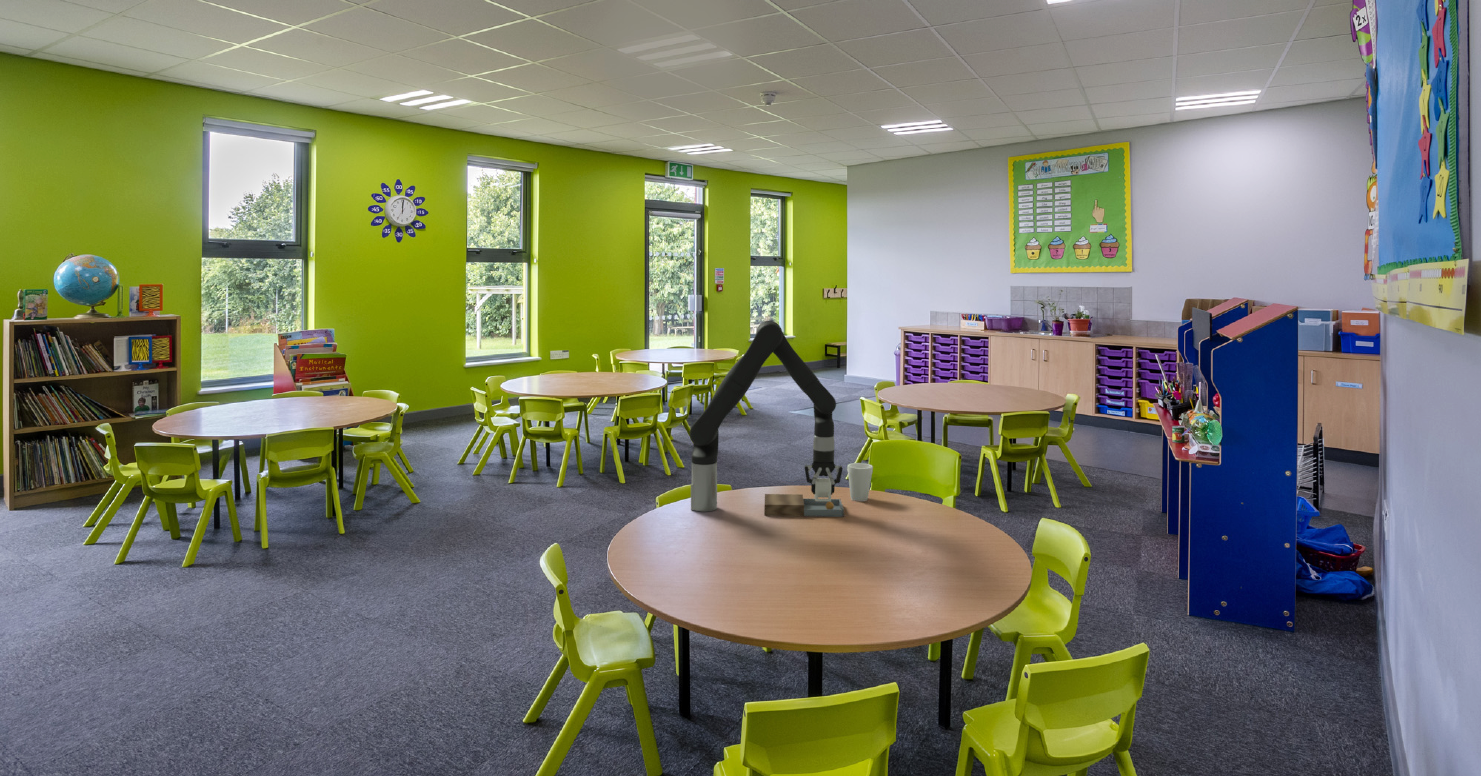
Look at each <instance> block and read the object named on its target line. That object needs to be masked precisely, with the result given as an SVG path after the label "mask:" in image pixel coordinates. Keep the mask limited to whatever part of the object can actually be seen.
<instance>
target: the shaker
mask: <svg viewBox="0 0 1481 776" xmlns="http://www.w3.org/2000/svg"><path fill="white" fill-rule="evenodd" d="M813 495H814V496H813V498H814V499H815V501H828V502H831V499H832V495H831V481H830V479H829V478H825V477H822V478H821V477H820V478H819V477H818V478H817V480H816V481H815V494H813Z"/></svg>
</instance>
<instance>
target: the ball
mask: <svg viewBox="0 0 1481 776" xmlns="http://www.w3.org/2000/svg"><path fill="white" fill-rule="evenodd" d="M826 508H827V509H833V508H834V504H833V503H832V502H827V503H826Z"/></svg>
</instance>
